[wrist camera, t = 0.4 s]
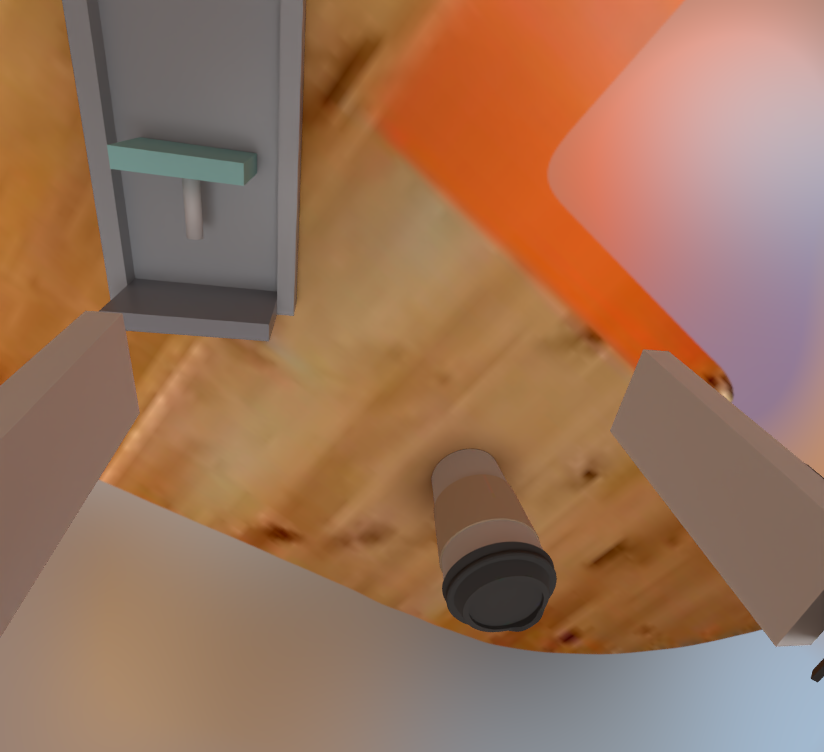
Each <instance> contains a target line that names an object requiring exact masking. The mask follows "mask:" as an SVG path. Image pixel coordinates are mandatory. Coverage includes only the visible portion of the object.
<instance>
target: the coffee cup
mask: <svg viewBox="0 0 824 752" xmlns="http://www.w3.org/2000/svg"><path fill="white" fill-rule="evenodd" d="M432 487H433V496H434V504H435V505H434V518H435V527H436V536H437V545H438V554H439V563H440V568H441V571H442V573H443V578H444V581H443V586H442V592H443V596H444V598H445V600H446V602H447V607H448V609H449V611H450V613H451V614H452V615H453V616H454V617H455V618H456V619H458V620H459V621H461V622H463V623H465V624H468V625H470V626H471V627H473V628H475V629H477V630H480V631H485V632H501V631H507V630H509V631H516V632H519V631H524V630H526V629H528V628H530V627H531V626H533V625H535V624H536V623H537V622H538V621H539V620H540V619H541V617H542V615H543V612H544V609H545V607H546V605H547V603H548V599H549V598H550V596H551V595H552V593H553V591H554V589H555V586H556V579H557V578H556V572H555V570H554V565H553V562H552V560H551V558H550V556H549V555H548V554H547V553H546V552H545V551H544V550H543V549H542V547H541V545H540V541H539V538H538V536H537V534H536V532H535V530H534V528H533V526H532V524H531V523H530V521H529V519H528V517H527V515H526V513H525V512H524V510H523V508H522V506H521V504H520V502H519V500H518V499H517V497H516V495H515V493H514V491H513V489H512V488H511V486H510V485H509V484H508V483H507V481H506V479H505V478H504V476H503V474H502V472H501V470H500V468H499V466H498V464H497V463H496V461H495V459H494V458H493V457H492V456H491V455H490V454H488V453H487V452H485V451H482V450H478V449H464V450H460V451H456V452H454V453H452V454H450V455H448V456H446V457H445V458H443V459H442V460H441V461H440V462H439V463H438V464H437V466H436V467H435V469H434V471H433V474H432Z"/></svg>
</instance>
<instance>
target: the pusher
mask: <svg viewBox="0 0 824 752" xmlns="http://www.w3.org/2000/svg"><path fill="white" fill-rule="evenodd" d="M107 149H108V156H109V163H110V169H115V170H123V171H131V172H139V173H147V174H154V175H162V176H170V177H178V178H182V184H183V197H184V210H185V223H186V236H187V238H188V239H192V240H201V239H203V238H204V236H203V220H202V203H201V187H200V180H201V181H209V182H217V183H225V184H233V185H241V186H244V185H245V184H247V183H248V182H249V181H250V180H251V179H252V178H253V177H254V176H255V175H256V174H257V153H250V152H243V151H236V150H229V149H221V148H214V147H207V146H200V145H193V144H186V143H178V142H171V141H164V140H157V139H150V138H143V137H139V138H134V139H130V140H126V141H121V142H117V143H113V144H108V145H107Z"/></svg>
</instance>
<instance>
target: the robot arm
mask: <svg viewBox="0 0 824 752" xmlns="http://www.w3.org/2000/svg"><path fill="white" fill-rule="evenodd" d="M139 413H140V412H139V407H138V401H137V395H136V389H135V383H134V378H133V372H132V366H131V360H130V354H129V348H128V343H127V337H126V331H125V325H124V319H123V314H122V313H110V312H95V311H85V312H84V313H83V314H81V315H80V316H79V317H78V318H77V319H76V320H75V321H73V322H72V323H71V324H70V325H69V326H68V327H67V328H66V329H64V330H63V331H62V332H61V333H60V334H59V335H58V336H56V337H55V338H54V339H53V340H52V341H51V342H50V343H48V344H47V345H46V346H45V347H44V348H43V349H42V350H41V351H39V352H38V353H37V354H36V355H35V356H34V357H33V358H31V359H30V360H29V361H28V362H27V363H26V364H25V365H23V366H22V367H21V368H20V369H19V370H18V371H17V372H15V373H14V374H13V375H12V376H11V377H10V378H9V379H8V380H6V381H5V382H4V383H3V384H2V385H1V386H0V637H1V636H2V634H3V633H4V631H5V629H6V628H7V626H8V624H9V623H10V621H11V620H12V618H13V616H14V615H15V613H16V612H17V610H18V608H19V607H20V605H21V603H22V602H23V600H24V599H25V597H26V595H27V594H28V592H29V590H30V589H31V587H32V586H33V584H34V583H35V581H36V579H37V578H38V576H39V574H40V573H41V571H42V570H43V568H44V566H45V565H46V563H47V562H48V560H49V558H50V557H51V555H52V553H53V552H54V550H55V549H56V547H57V545H58V544H59V542H60V541H61V539H62V537H63V536H64V534H65V532H66V531H67V529H68V528H69V526H70V524H71V523H72V521H73V520H74V518H75V516H76V515H77V513H78V512H79V510H80V508H81V507H82V505H83V503H84V502H85V500H86V498H87V497H88V495H89V494H90V492H91V491H92V489H93V487H94V486H95V484H96V482H97V481H98V479H99V478H100V476H101V474H102V473H103V471H104V470H105V468H106V466H107V465H108V463H109V462H110V460H111V458H112V457H113V455H114V453H115V452H116V450H117V449H118V447H119V445H120V444H121V442H122V441H123V439H124V437H125V436H126V434H127V432H128V431H129V429H130V428H131V426H132V424H133V423H134V421H135V420H136V418H137V416H138V415H139ZM610 432H611V433H612V434H613V435H614V437H615V438H616V439H617V441H618V442H619V443H620V445H621V446H622V447H623V448H624V450H625V451H626V452H627V454H628V455H629V456H630V458H631V459H632V460H633V461H634V463H635V464H636V465H637V467H638V468H639V469H640V471H641V472H642V473H643V474H644V476H645V477H646V478H647V480H648V481H649V482H650V484H651V485H652V486H653V487H654V489H655V490H656V491H657V493H658V494H659V495H660V497H661V498H662V499H663V500H664V502H665V503H666V504H667V506H668V507H669V508H670V510H671V511H672V512H673V513H674V515H675V516H676V517H677V519H678V520H679V521H680V523H681V524H682V525H683V526H684V528H685V529H686V530H687V532H688V533H689V534H690V536H691V537H692V538H693V539H694V541H695V542H696V543H697V545H698V546H699V547H700V549H701V550H702V551H703V552H704V554H705V555H706V556H707V558H708V559H709V560H710V562H711V563H712V564H713V565H714V567H715V568H716V569H717V571H718V572H719V573H720V575H721V576H722V577H723V578H724V580H725V581H726V582H727V584H728V585H729V586H730V588H731V589H732V590H733V591H734V593H735V594H736V595H737V597H738V598H739V599H740V601H741V602H742V603H743V604H744V606H745V607H746V608H747V610H748V611H749V612H750V614H751V615H752V616H753V617H754V619H755V620H756V621H757V623H758V624H759V625H760V627H761V628H762V629H763V630H764V632H765V633H766V634H767V636H768V637H769V638H770V640H771V641H772V642H773V644H774V645H775V646H776V647H777V646H797V645H798V646H799V645H811V644H812V643H813V642H814V641H815V640H816V639H817V638H818V636H819V635H820V634H821V633H822V632H823V631H824V478H823V477H822V476H821V475H819V474H818V473H817V472H816V471H815V470H813V469H812V468H811V467H810V466H809V465H807V464H805V463H804V462H802V461H801V460H800V459H799V458H797V457H796V456H795V455H794V454H793V453H791V452H790V451H789V450H788V449H787V448H785V447H784V446H783V445H782V444H781V443H779V442H778V441H777V440H776V439H774V438H773V437H772V436H771V435H770V434H768V433H767V432H766V431H765V430H763V429H762V428H761V427H760V426H759V425H757V424H756V423H755V422H754V421H753V420H751V419H750V418H749V417H748V416H746V415H745V414H744V413H743V412H741V411H740V410H739V409H738V408H737V407H736V406H734V405H733V404H732V403H731V402H729V401H728V400H727V399H726V398H725V397H723V396H722V395H721V394H720V393H719V392H717V391H716V390H715V389H714V388H712V387H711V386H710V385H709V384H708V383H706V382H705V381H704V380H703V379H702V378H700V377H699V376H698V375H697V374H695V373H694V372H693V371H692V370H691V369H689V368H688V367H687V366H686V365H684V364H683V363H682V362H681V361H680V360H678V359H677V358H676V357H675V356H674V355H672V354H671V353H670V352H669V351H656V350H643V352H642V354H641V357H640V359H639V361H638V364H637V366H636V369H635V371H634V374H633V376H632V379H631V381H630V383H629V386H628V388H627V391H626V393H625V396H624V398H623V400H622V403H621V405H620V408H619V410H618V413H617V415H616V418H615V420H614V422H613V425H612V427H611V430H610ZM823 676H824V659H823V660H822V661H821V662H820V663H819V664H818V665H817V666H816V667H815V668H814V669H813V671H812V676H811V679H812V680H814V681H816V682H819V681H820V680H821V678H823Z"/></svg>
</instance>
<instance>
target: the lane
mask: <svg viewBox="0 0 824 752" xmlns="http://www.w3.org/2000/svg"><path fill="white" fill-rule="evenodd" d="M62 3H63V9H64V15H65V21H66V27H67V34H68V40H69V46H70V52H71V58H72V64H73V71H74V77H75V83H76V89H77V95H78V101H79V108H80V114H81V120H82V126H83V132H84V138H85V144H86V151H87V157H88V163H89V169H90V175H91V181H92V188H93V194H94V200H95V206H96V212H97V218H98V225H99V231H100V237H101V243H102V249H103V255H104V261H105V268H106V274H107V280H108V286H109V292H110V298H111V301H110V302H109V303H107V304H106V305H105V306H104V307H103V308H102V309H101V310H100V311H99V312H110V313H122V314H123V319H124V325H125V330H126V331H139V332H152V333H166V334H179V335H193V336H206V337H219V338H233V339H246V340H259V341H269V340H270V336H271V333H272V330H273V326H274V323H275V319H276V316H277V314H279V315H290V316H294V312H295V307H296V301H297V270H298V238H299V207H300V176H301V145H302V114H303V83H304V52H305V21H306V0H62ZM139 137H143V138H150V139H157V140H164V141H171V142H178V143H186V144H193V145H200V146H207V147H214V148H221V149H229V150H236V151H243V152H250V153H257V174H256V175H255V176H254V177H253V178H252V179H251V180H250V181H249V182H248V183H247V184H245V185H244V186H241V185H233V184H225V183H217V182H209V181H201V180H200V187H201V203H202V220H203V236H204V238H203V239H201V240H192V239H188V238H187V236H186V223H185V210H184V197H183V184H182V178H178V177H170V176H162V175H154V174H147V173H139V172H131V171H123V170H115V169H110V163H109V156H108V149H107V145H108V144H113V143H117V142H121V141H126V140H130V139H134V138H139Z"/></svg>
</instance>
